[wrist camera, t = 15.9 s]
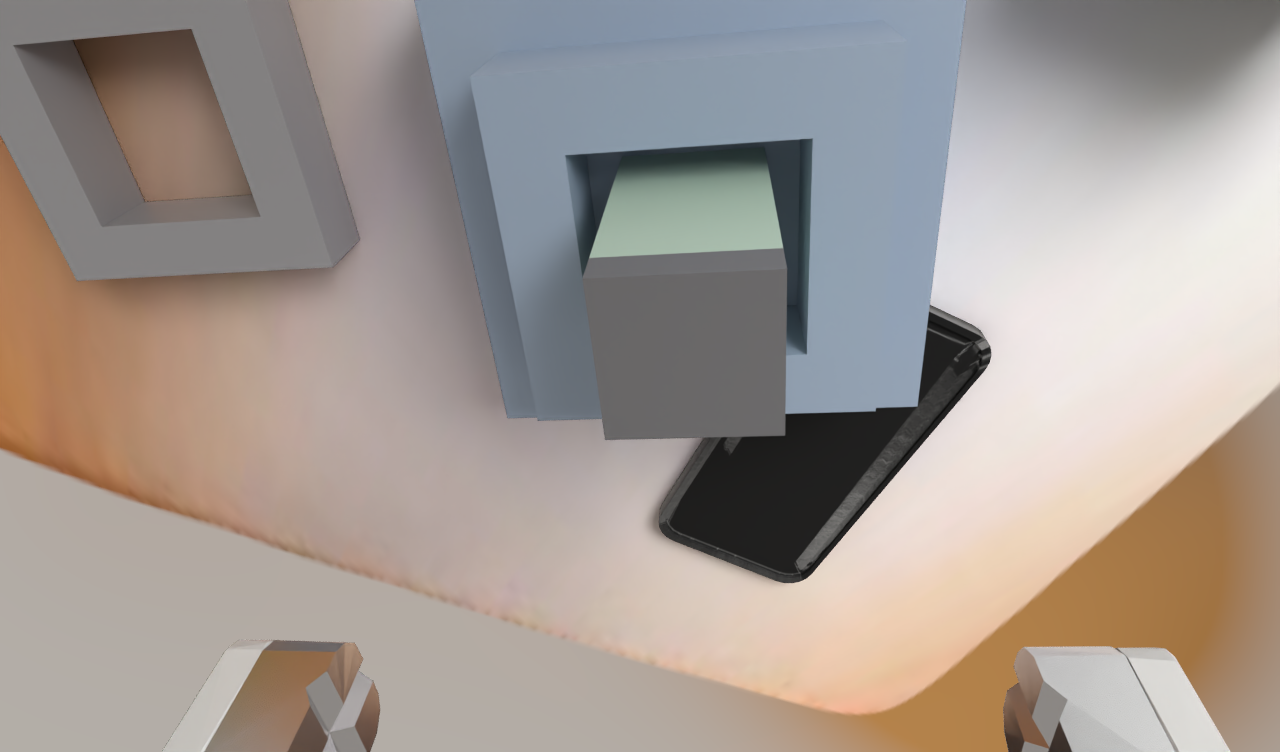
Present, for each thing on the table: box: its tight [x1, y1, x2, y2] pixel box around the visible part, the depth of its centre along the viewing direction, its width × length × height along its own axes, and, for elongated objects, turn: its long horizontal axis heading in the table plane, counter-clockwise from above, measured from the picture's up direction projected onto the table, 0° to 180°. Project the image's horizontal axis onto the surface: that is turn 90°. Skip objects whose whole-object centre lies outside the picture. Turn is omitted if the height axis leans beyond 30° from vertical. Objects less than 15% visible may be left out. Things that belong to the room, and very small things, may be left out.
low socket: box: [0, 0, 360, 281], centre depth 27 cm, size 10×10×2 cm
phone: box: [659, 305, 991, 583], centre depth 33 cm, size 8×1×15 cm
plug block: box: [582, 147, 787, 440], centre depth 20 cm, size 4×4×8 cm
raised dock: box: [414, 0, 966, 421], centre depth 24 cm, size 14×14×8 cm
